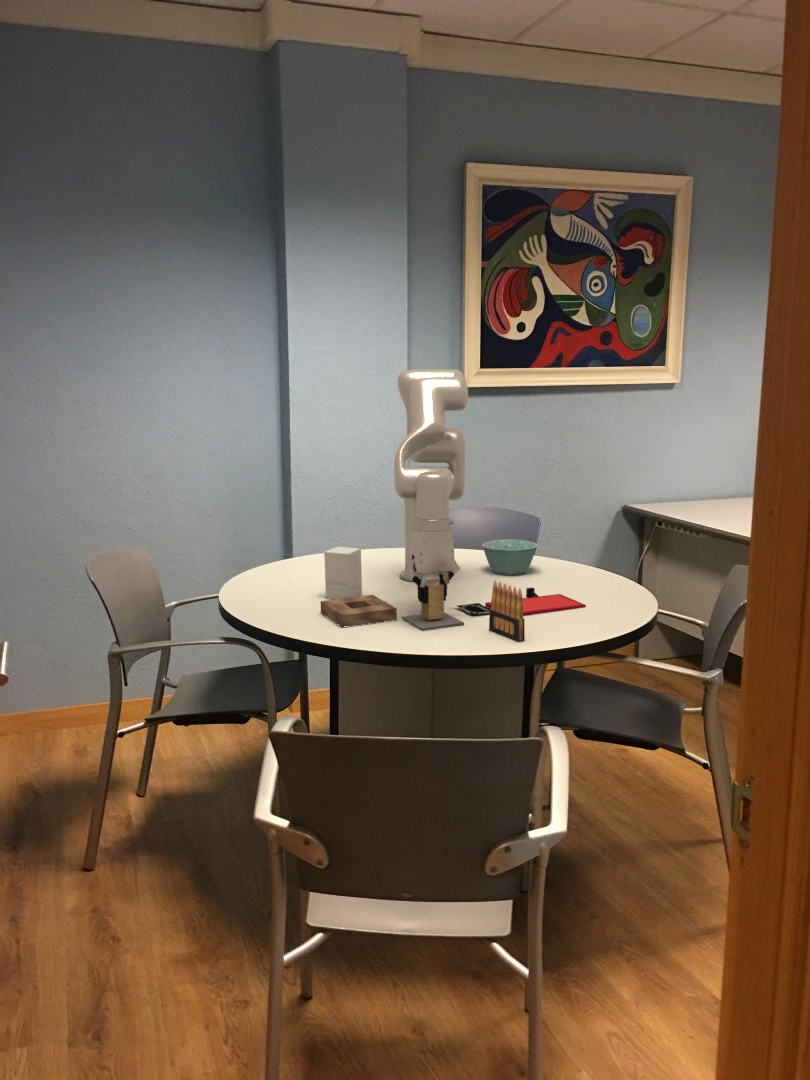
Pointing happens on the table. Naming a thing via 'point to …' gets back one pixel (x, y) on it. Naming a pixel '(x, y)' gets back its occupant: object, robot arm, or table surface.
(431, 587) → the wooden block
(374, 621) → the socket block
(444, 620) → the rubber mat
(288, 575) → the table surface
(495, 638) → the table surface
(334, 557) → the supplement box
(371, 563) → the table surface
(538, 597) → the red board with handle
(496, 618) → the ammunition clip
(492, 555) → the bowl
